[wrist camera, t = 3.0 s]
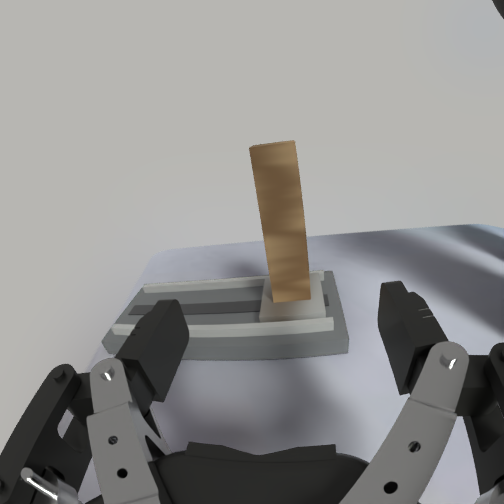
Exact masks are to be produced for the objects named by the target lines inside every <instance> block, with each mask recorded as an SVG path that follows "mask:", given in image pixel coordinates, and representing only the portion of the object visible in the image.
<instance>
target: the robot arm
mask: <svg viewBox="0 0 504 504" xmlns="http://www.w3.org/2000/svg"><path fill="white" fill-rule="evenodd" d="M492 1H493V3H494V5H495V7H496V8H497V10H498V12H499V13H500V15H501V16H502V17H503V19H504V0H492ZM378 328H379V332H380V335H381V338H382V340H383V343H384V346H385V349H386V352H387V355H388V358H389V361H390V365H391V368H392V371H393V374H394V377H395V381H396V384H397V388H398V391H399V394H400V395H403V394H408V393H410V397H409V398H408V399H407V401H406V403H405V405H404V407H403V409H402V411H401V413H400V415H399V416H398V418H397V420H396V422H395V424H394V425H393V427H392V429H391V431H390V432H389V434H388V436H387V437H386V439H385V441H384V442H383V444H382V445H381V447H380V449H379V450H378V452H377V453H376V455H375V456H374V458H373V459H372V461H371V462H370V463H368V462H366V461H364V460H362V459H360V458H357V457H354V456H351V455H347V454H342V453H336V446H335V444H332V445H321V446H307V447H296V448H292V449H288V450H283V451H279V452H274V453H270V454H265V455H253V454H249V453H246V452H242V451H239V450H235V449H232V448H229V447H225V446H222V445H212V444H203V443H195V442H189V443H188V446H187V450H185V451H179V452H175V453H172V452H171V450H170V449H169V447H168V445H167V444H166V441H165V439H164V437H163V434H162V432H161V430H160V427H159V425H158V422H157V420H156V417H155V415H154V412H153V410H152V408H151V407H150V405H151V403H152V401H158V402H164V400H165V398H166V395H167V393H168V390H169V388H170V386H171V383H172V381H173V378H174V376H175V374H176V371H177V369H178V366H179V364H180V362H181V359H182V357H183V354H184V352H185V350H186V347H187V345H188V342H189V329H188V326H187V323H186V320H185V317H184V315H183V312H182V309H181V306H180V303H179V301H178V300H177V299H165V300H158V301H157V303H156V304H155V306H154V307H153V309H152V310H151V312H148V313H147V314H145V315H144V316H143V317H142V318H140V319H139V321H138V322H137V324H136V325H135V327H134V329H133V330H132V331H131V333H130V336H128V337H127V339H126V341H125V342H124V344H123V345H122V347H121V348H120V350H119V351H118V353H117V354H116V356H115V358H108V359H105V360H102V361H100V362H99V363H97V364H96V365H95V366H94V367H93V369H92V370H91V372H89V373H81V374H77V373H76V371H75V370H74V368H73V367H72V366H71V365H69V364H62V365H59V366H57V367H55V368H54V369H53V370H52V371H51V372H50V373H49V375H48V376H47V378H46V379H45V380H44V382H43V383H42V385H41V386H40V388H39V390H38V391H37V393H36V395H35V396H34V398H33V399H32V401H31V402H30V404H29V405H28V407H27V409H26V410H25V412H24V414H23V415H22V417H21V419H20V421H19V422H18V424H17V425H16V427H15V429H14V431H13V433H12V434H11V436H10V438H9V440H8V442H7V443H6V446H5V447H4V449H3V451H2V453H1V455H0V504H83V503H82V502H81V501H80V500H78V491H79V489H80V486H81V483H82V481H83V478H84V475H85V473H86V470H87V468H88V465H89V463H90V460H91V458H92V456H93V461H94V465H95V470H96V474H97V478H98V482H99V486H100V489H101V493H102V494H101V495H99V496H98V497H96V498H94V499H92V500H90V501H89V502H87V503H85V504H421V503H419V502H418V501H419V499H420V497H421V495H422V494H423V492H424V490H425V488H426V486H427V485H428V483H429V481H430V479H431V477H432V475H433V473H434V471H435V469H436V467H437V465H438V463H439V460H440V458H441V456H442V454H443V451H444V449H445V447H446V444H447V442H448V439H449V437H450V434H451V432H452V429H453V426H454V424H455V421H456V417H457V416H463V419H464V423H465V426H466V430H467V434H468V437H469V441H470V445H471V449H472V454H473V458H474V463H475V468H476V473H477V479H478V485H479V491H480V497H479V498H478V499H477V500H476V502H475V503H474V504H504V418H503V417H504V343H498V344H496V345H494V346H493V347H492V349H491V351H490V353H489V355H468V353H467V351H466V350H465V349H464V348H463V347H462V346H461V345H459V344H457V343H454V342H449V341H448V339H447V337H446V335H445V334H444V332H443V330H442V328H441V327H440V325H439V323H438V322H437V320H436V318H435V317H434V316H433V313H432V312H431V310H430V309H429V307H428V305H427V304H426V302H425V300H424V299H423V298H422V297H420V296H419V295H418V294H416V293H415V292H409V293H408V291H407V290H406V288H405V286H404V285H403V283H402V282H401V281H394V282H386V283H382V284H381V289H380V299H379V309H378ZM498 404H499V405H498ZM499 406H500V407H499ZM66 409H68V410H69V411H70V412H71V413H72V415H73V416H74V417H73V419H72V421H71V423H70V425H69V427H68V429H67V431H66V433H65V435H64V437H63V439H62V438H61V437H60V436H59V434H58V430H57V428H58V424H59V422H60V420H61V419H62V417H63V415H64V413H65V411H66ZM500 409H501V410H500ZM502 414H503V415H502Z"/></svg>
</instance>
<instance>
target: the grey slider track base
mask: <svg viewBox="0 0 504 504" xmlns="http://www.w3.org/2000/svg"><path fill="white" fill-rule="evenodd" d="M318 272H319V276H320V281H321V287H322V293H323V299H324V304H325V311H326V318H317V319H306V320H294V321H281V322H265V323H260V319H259V315H260V308H261V302H262V295H263V289H264V282H265V277H270V276H269V275H264V276H252V277H240V278H227V279H214V280H200V281H186V282H171V283H154V284H144V286H143V287H142V288H141V290H140V291H139V292H138V293H137V295H136V296H135V297H134V299H133V300H132V301H131V302H130V304H129V305H128V306H127V308H126V309H125V310H124V312H123V313H122V314H121V316H120V317H119V318H118V319H117V321H116V322H115V323H114V325H113V326H112V327H111V329H110V330H109V332H108V333H107V334H106V336H105V337H104V338H103V340H102V341H101V342H102V343H103V345H104V347H105V349H106V350H107V352H108V353H111V354H117V353H118V351H119V350H120V348H121V347H122V345H123V344H124V342H125V341H126V339H127V337H128V336H130V333H131V331H132V330H133V329H134V327H135V325H136V324H137V322H138V321H139V319H140V318H142V317H143V316H144V315H145V314H147V313H148V312H151V310H152V309H153V307H154V306H155V304H156V303H157V301H158V300H165V299H177V300H178V301H179V303H180V306H181V309H182V312H183V315H184V317H185V320H186V323H187V326H188V329H189V342H188V345H187V347H186V350H185V352H184V354H183V357H182V359H185V360H268V359H288V358H303V357H315V356H326V355H335V354H344V353H348V346H349V336H348V332H347V327H346V323H345V319H344V315H343V310H342V306H341V302H340V298H339V294H338V291H337V287H336V283H335V279H334V275H333V272H332V271H325V272H324V271H323V270H319V271H309V273H318Z"/></svg>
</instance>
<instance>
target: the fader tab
mask: <svg viewBox="0 0 504 504" xmlns="http://www.w3.org/2000/svg"><path fill="white" fill-rule="evenodd" d="M249 151H250V157H251V163H252V169H253V175H254V181H255V187H256V193H257V199H258V205H259V211H260V218H261V224H262V230H263V236H264V243H265V250H266V256H267V262H268V269H269V276H270V277H265V282H264V289H263V295H262V302H261V308H260V315H259V319H260V323H265V322H281V321H294V320H306V319H317V318H326V311H325V304H324V299H323V293H322V287H321V281H320V276H319V272H318V273H309V263H308V251H307V240H306V230H305V219H304V210H303V201H302V192H301V185H300V175H299V168H298V161H297V153H296V146H295V141H294V140H292V141H284V142H275V143H268V144H260V145H253V146H252V147H250V148H249Z"/></svg>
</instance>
